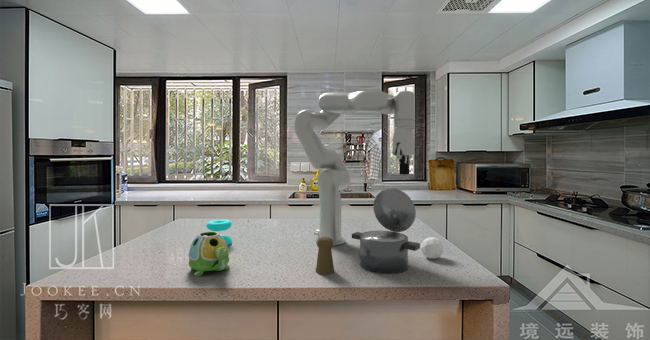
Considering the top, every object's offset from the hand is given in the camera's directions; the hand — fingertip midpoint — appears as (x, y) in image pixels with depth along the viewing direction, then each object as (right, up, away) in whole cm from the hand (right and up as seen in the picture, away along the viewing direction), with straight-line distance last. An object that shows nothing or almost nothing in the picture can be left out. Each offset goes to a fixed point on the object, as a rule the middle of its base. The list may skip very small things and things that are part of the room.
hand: (404, 174), depth 114 cm
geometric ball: (+9, -31, -3) cm, 32 cm away
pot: (-10, -31, -10) cm, 34 cm away
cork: (-30, -31, -16) cm, 46 cm away
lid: (-6, -13, -6) cm, 15 cm away
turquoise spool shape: (-75, -30, +15) cm, 82 cm away
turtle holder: (-67, -32, -15) cm, 75 cm away
